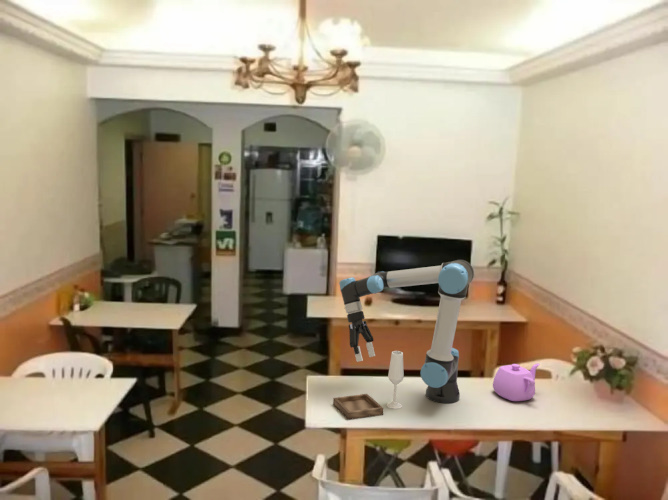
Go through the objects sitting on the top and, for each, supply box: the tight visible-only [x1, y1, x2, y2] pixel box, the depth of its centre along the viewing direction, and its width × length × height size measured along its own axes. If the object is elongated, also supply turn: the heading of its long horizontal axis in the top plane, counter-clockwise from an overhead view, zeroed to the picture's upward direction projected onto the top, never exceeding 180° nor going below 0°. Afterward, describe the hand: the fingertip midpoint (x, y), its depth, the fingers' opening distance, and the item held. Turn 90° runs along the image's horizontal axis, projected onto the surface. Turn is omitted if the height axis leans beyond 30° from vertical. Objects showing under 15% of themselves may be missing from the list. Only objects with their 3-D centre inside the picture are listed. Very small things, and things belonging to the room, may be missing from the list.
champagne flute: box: [386, 350, 405, 410], centre depth 265 cm, size 7×7×24 cm
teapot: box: [492, 363, 540, 402], centre depth 281 cm, size 23×21×15 cm
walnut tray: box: [332, 393, 384, 421], centre depth 261 cm, size 16×16×3 cm
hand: (366, 358), depth 273 cm, fingers open, 13 cm apart
